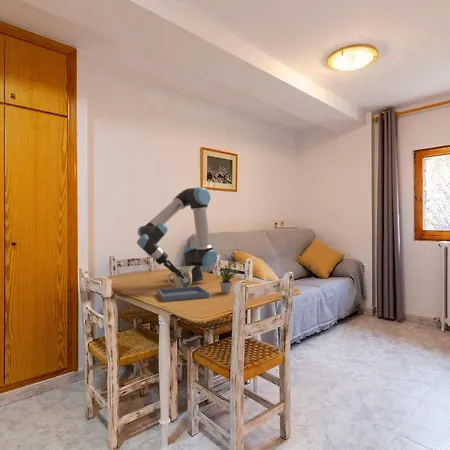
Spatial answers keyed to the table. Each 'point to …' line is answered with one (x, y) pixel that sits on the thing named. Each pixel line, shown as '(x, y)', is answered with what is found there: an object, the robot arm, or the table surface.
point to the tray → (182, 293)
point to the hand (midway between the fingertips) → (184, 279)
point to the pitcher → (186, 272)
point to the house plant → (226, 280)
